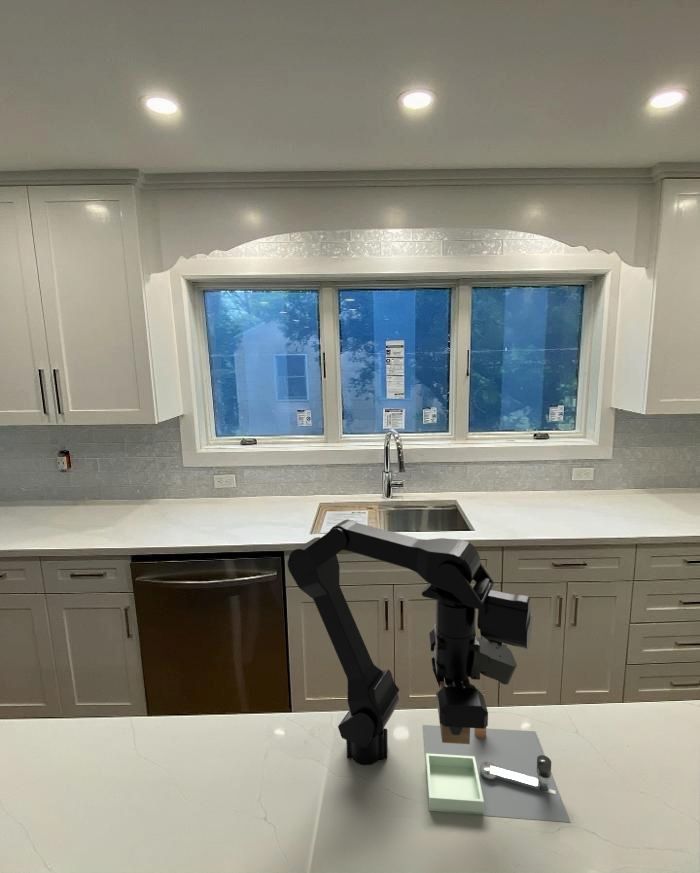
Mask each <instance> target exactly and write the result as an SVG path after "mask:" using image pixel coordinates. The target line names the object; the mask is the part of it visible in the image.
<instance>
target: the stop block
mask: <svg viewBox="0 0 700 873" xmlns="http://www.w3.org/2000/svg"><path fill="white" fill-rule="evenodd" d="M452 685H453V682H452ZM462 685H463V684H462ZM443 687H446V686H445V682H440V688H439V691H440V690H441V689H442V688H443ZM463 687H464V686H463ZM464 688H465V687H464ZM439 726H440V729H441V737H442V743H456V744H470V728H462V730H461V733H460V735H452V733H451V731H450V729H449V727H446V726H443V725H442V724H441V723H440V722H439Z"/></svg>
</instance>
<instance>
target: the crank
mask: <svg viewBox="0 0 700 873" xmlns="http://www.w3.org/2000/svg"><path fill="white" fill-rule="evenodd" d="M551 773H552V760H551V759H550V758H549V757H548V756H547V755H545V756H544V755H540V756H538V757H537V778H533V777H529V776H526V775H522V774H519V773H515V772H511V771H508V770H504V769H501V768H497V767H496V766H495V765H494V764H493V763H491V762H483V763H482V764H481V765H480V774H481V775H482V776H483V777H484V778H485V779H487V780H495V779H497V778H498V779H501V780H505V781H508V782H512V783H515V784H519V785H522V786H526V787H529V788H533V789H536V790H540V791H549V789H550V776H551Z"/></svg>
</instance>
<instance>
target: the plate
mask: <svg viewBox="0 0 700 873" xmlns="http://www.w3.org/2000/svg"><path fill="white" fill-rule="evenodd" d="M422 735H423V736H422V737H423V749H424V762H425V763H424V765H425V767H426V753H429V754H445V755H460V756H475V760H476V765H477V770H478V775H479V780H480V785H481V790H482V795H483V800H484V815H479V814H466V813H453V812H440V811H429V810H428V812H429V813H443V814H455V815H465V816H466V815H468V816H469V815H471V816H479V817H480V816H481V817H482V816H483V817H494V818H495V817H497V818H505V819H506V818H508V819H518V820H522V819H523V820H534V821H545V822H547V821H548V822H558V823H569V824H570V823H571V820H570V817H569V814H568V813H567V809H566V807H565V804H564V802H563V800H562V795H560V792H559V789H558V786H557V784H556V781H555V778H554V774H553V773H552V772H551V776H550V789H549V791H540V790H536V789H533V788H529V787H526V786H522V785H519V784H515V783H512V782H508V781H505V780H501V779H498V778H497V779H495V780H487V779H485V778H484V777H483V776H482V775H481V774H480V765H481V764H482V763H483V762H491V763H493V764H494V765H495V766H496V767H497V768H501V769H504V770H508V771H511V772H515V773H519V774H522V775H526V776H529V777H533V778H537V757H538V756H540V755H544V756H546V755H545V753H544V750H543V747H542V745H541V742H540V739H539V737H538V735H537V731H535V730H519V729H505V728H504V729H501V728H500V729H499V728H487V727H486V728H484V729H481V728H470V744H456V743H442V737H441V729H440V725H435V724H434V725H432V724H431V725H430V724H422ZM425 777H426V781H427V771H426V770H425ZM426 791H427V794H426V795H428V784H427V783H426ZM427 803H428V804H427V806H428V809H429V798H428V797H427Z"/></svg>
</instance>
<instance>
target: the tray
mask: <svg viewBox="0 0 700 873" xmlns="http://www.w3.org/2000/svg"><path fill="white" fill-rule="evenodd" d="M426 771H427V780H426V785H427V784H428V794H427V799H428V798H429V808H428V812H429V811H440V812H439V813H441V812H453V813H452V814H454V813H466V814H479V815H484V800H483V795H482V790H481V785H480V780H479V775H478V770H477V765H476V760H475V756H460V755H445V754H429V753H426V766H425V772H426ZM466 814H465V815H466ZM479 815H478V816H479Z"/></svg>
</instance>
